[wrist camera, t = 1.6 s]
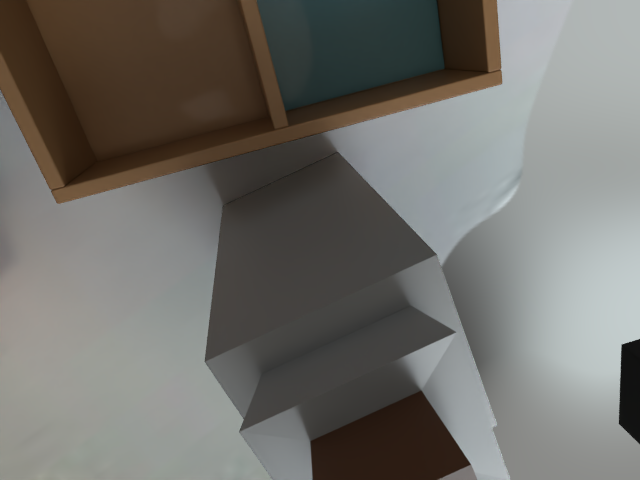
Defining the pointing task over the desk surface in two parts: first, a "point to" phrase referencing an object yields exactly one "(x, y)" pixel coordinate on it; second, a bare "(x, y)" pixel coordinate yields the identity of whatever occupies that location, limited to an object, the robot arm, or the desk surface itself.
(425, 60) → the bottle tray
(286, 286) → the perfume bottle
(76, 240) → the desk surface
